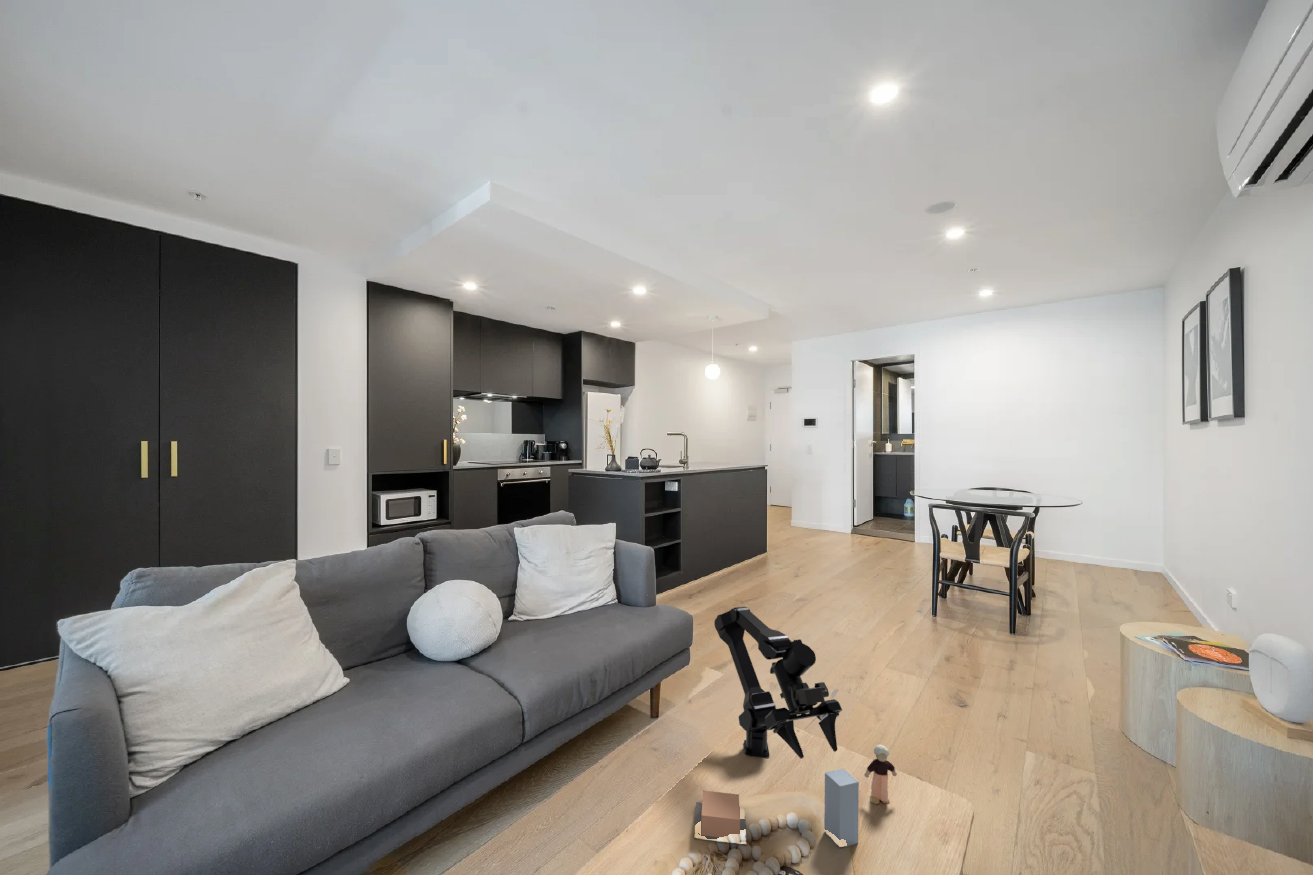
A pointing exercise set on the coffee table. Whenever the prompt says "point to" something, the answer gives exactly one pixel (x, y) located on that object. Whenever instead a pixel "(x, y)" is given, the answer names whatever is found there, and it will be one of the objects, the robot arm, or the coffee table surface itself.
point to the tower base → (719, 815)
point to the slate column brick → (841, 805)
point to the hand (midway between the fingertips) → (819, 754)
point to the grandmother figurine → (880, 775)
